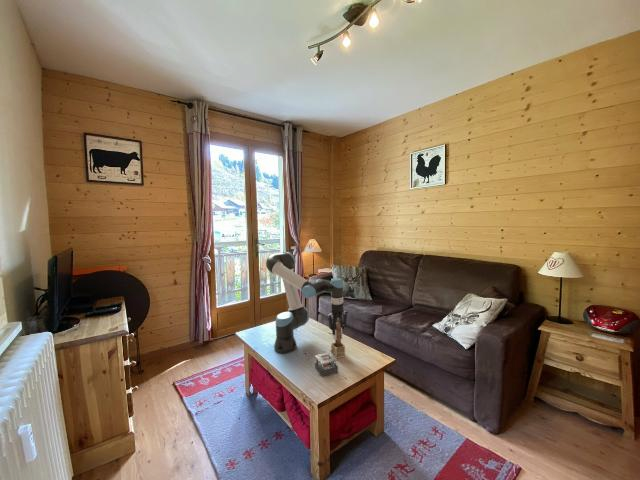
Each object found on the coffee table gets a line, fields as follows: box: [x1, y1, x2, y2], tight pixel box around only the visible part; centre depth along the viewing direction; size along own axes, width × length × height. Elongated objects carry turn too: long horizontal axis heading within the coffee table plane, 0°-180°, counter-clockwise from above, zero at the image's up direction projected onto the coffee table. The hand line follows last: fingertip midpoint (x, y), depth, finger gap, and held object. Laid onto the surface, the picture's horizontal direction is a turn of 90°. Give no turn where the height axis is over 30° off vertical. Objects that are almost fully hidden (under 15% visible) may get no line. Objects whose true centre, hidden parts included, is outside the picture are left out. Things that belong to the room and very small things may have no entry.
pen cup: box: [330, 342, 346, 359], centre depth 174 cm, size 7×7×7 cm
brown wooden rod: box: [334, 321, 342, 348], centre depth 173 cm, size 4×4×18 cm
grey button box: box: [314, 351, 339, 378], centre depth 157 cm, size 10×10×8 cm
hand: (338, 338), depth 173 cm, fingers closed on brown wooden rod, 3 cm apart
